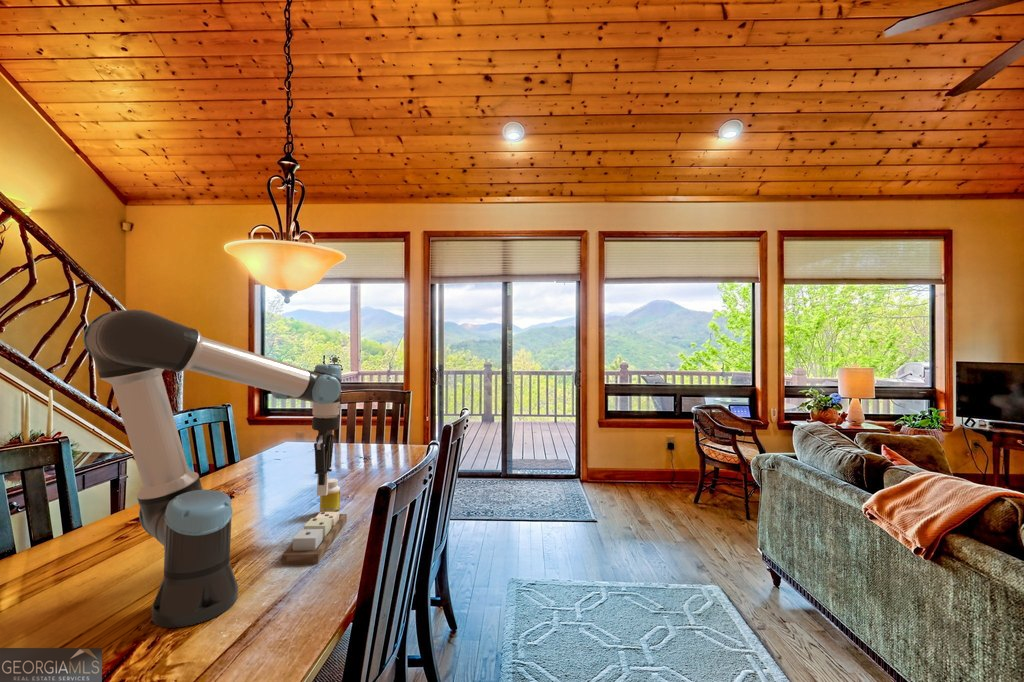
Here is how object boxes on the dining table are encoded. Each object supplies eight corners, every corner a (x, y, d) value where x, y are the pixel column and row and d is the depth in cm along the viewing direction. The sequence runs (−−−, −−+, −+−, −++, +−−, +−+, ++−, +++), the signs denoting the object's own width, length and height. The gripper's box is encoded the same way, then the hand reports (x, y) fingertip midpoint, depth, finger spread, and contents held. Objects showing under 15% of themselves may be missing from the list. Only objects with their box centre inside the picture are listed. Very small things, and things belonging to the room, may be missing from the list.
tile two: (325, 537, 125) (325, 525, 125) (303, 537, 124) (304, 525, 124) (331, 528, 130) (331, 517, 130) (311, 528, 130) (311, 517, 130)
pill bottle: (342, 513, 148) (343, 480, 148) (324, 518, 143) (325, 484, 143) (334, 508, 152) (335, 476, 152) (316, 513, 148) (317, 480, 148)
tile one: (315, 550, 117) (315, 537, 117) (292, 550, 116) (292, 537, 116) (322, 540, 122) (322, 528, 122) (300, 540, 122) (301, 528, 122)
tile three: (333, 529, 133) (333, 518, 133) (313, 529, 132) (313, 518, 132) (339, 521, 138) (339, 511, 138) (320, 522, 138) (320, 511, 138)
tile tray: (317, 563, 114) (318, 554, 114) (281, 564, 113) (282, 554, 113) (346, 521, 141) (346, 514, 141) (317, 522, 140) (317, 514, 140)
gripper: (333, 419, 126) (328, 502, 126) (344, 413, 139) (340, 488, 139) (305, 419, 125) (301, 502, 125) (319, 412, 138) (316, 488, 138)
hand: (322, 494), depth 132 cm, fingers closed
